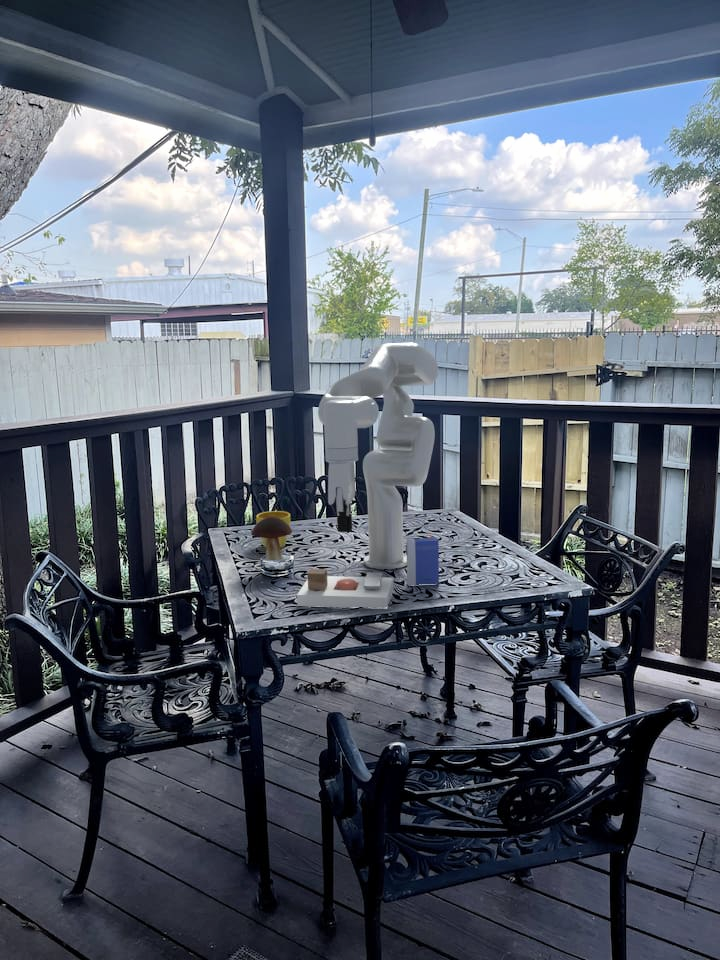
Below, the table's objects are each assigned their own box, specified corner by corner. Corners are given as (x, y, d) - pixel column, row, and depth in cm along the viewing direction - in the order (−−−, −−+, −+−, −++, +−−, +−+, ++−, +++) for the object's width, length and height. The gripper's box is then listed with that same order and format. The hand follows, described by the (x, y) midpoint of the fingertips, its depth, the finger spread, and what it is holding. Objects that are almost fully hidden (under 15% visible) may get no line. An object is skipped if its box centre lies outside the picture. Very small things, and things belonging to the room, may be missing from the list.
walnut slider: (311, 584, 157) (310, 568, 156) (327, 585, 156) (326, 569, 156) (308, 589, 154) (307, 573, 153) (324, 589, 153) (324, 573, 153)
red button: (339, 590, 159) (338, 578, 159) (357, 590, 158) (356, 579, 158) (336, 597, 155) (335, 585, 154) (354, 597, 154) (353, 585, 154)
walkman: (436, 581, 166) (436, 535, 164) (438, 585, 163) (438, 539, 161) (405, 583, 165) (405, 537, 163) (407, 587, 163) (406, 540, 160)
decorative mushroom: (302, 568, 179) (299, 515, 176) (271, 579, 171) (268, 524, 168) (275, 560, 186) (272, 509, 183) (245, 571, 178) (241, 518, 175)
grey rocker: (367, 575, 158) (367, 572, 158) (382, 575, 157) (382, 572, 157) (364, 588, 153) (363, 585, 152) (379, 589, 152) (379, 586, 152)
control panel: (310, 587, 165) (309, 572, 164) (393, 589, 161) (393, 574, 161) (297, 607, 152) (296, 591, 151) (387, 609, 149) (387, 593, 148)
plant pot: (294, 540, 205) (293, 510, 203) (288, 550, 195) (286, 519, 193) (262, 540, 206) (260, 510, 204) (254, 550, 196) (252, 519, 194)
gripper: (332, 448, 158) (335, 522, 162) (318, 460, 143) (322, 540, 147) (362, 448, 157) (365, 522, 160) (352, 460, 142) (355, 540, 146)
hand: (344, 530), depth 154 cm, fingers closed
